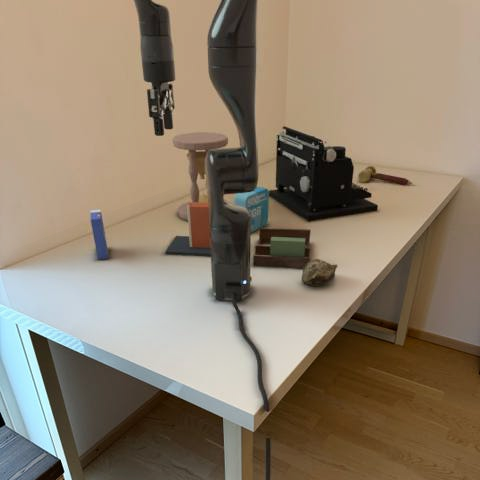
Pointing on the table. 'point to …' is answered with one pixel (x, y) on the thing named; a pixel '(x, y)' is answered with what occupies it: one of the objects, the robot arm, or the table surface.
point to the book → (198, 224)
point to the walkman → (99, 234)
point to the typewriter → (316, 179)
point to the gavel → (380, 176)
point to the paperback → (287, 246)
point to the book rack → (266, 260)
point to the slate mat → (186, 247)
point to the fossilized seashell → (318, 272)
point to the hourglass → (197, 160)
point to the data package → (255, 206)
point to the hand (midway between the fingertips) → (164, 132)
